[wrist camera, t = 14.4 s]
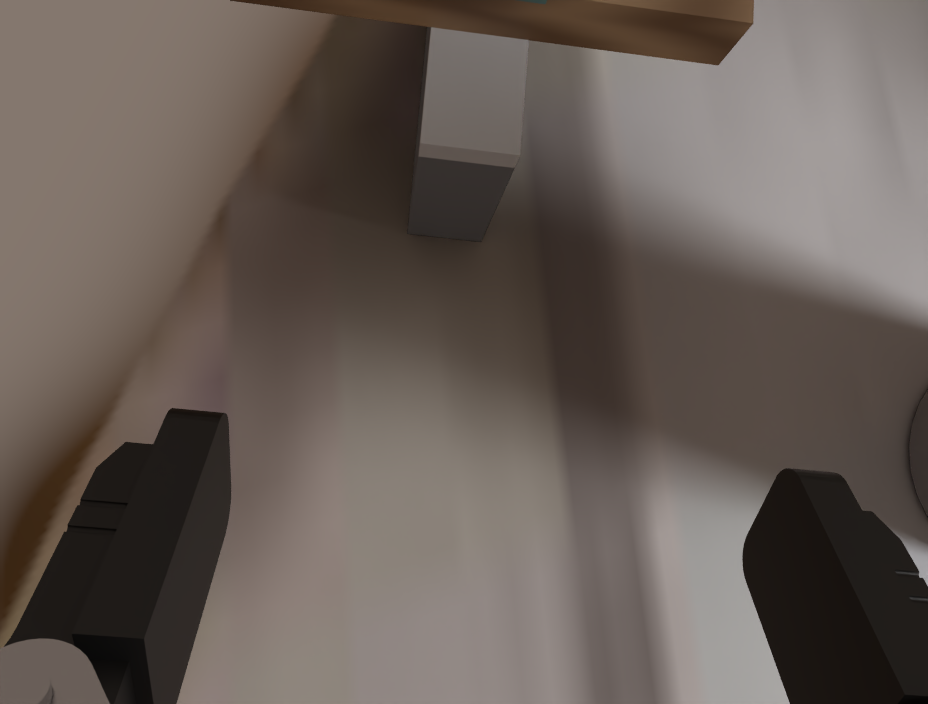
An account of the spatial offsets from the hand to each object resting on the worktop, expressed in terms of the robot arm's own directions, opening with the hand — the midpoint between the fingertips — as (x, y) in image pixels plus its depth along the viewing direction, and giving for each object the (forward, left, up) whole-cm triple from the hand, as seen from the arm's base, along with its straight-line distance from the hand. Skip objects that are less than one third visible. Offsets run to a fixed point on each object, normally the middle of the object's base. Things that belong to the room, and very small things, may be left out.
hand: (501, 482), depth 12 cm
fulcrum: (-3, -15, -20) cm, 25 cm away
